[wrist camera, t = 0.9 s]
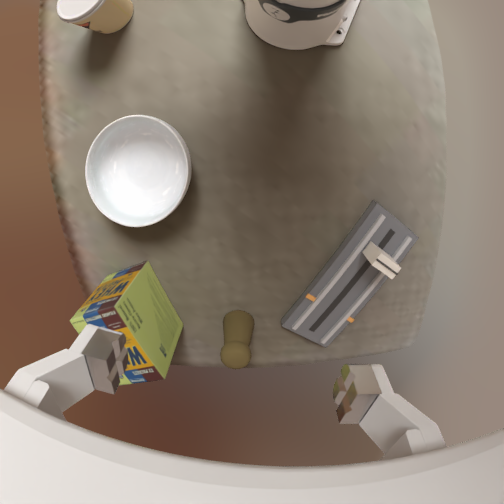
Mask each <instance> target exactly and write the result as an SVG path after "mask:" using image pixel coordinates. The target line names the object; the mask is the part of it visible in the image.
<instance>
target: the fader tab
mask: <svg viewBox="0 0 504 504" xmlns="http://www.w3.org/2000/svg"><path fill="white" fill-rule="evenodd" d="M362 253H363V254H364V255H365V257H366V258H367V259H368V261H369V262H370V263H371V265H372V266H374V267H375V268H377V269H378V270H380V271H381V272H382V273H384V274H385V275H387V276H388V277H389V278H391V279H393V278H394V277H395V276H396V275H397V274H398V272H399V271H400V269H401V267H400V266H399V265H398V264H397V263H396V262H395V261H394V259H393V258H392V257H391V256H390V255H389V254H387V253H386V252H385V251H383V250H382V249H381V248H379V247H378V246H377V245H375V244H374V243H373V242H371V241H370V242H369V244H368V245H367V246H366V248H365V249H364V250H363V252H362Z"/></svg>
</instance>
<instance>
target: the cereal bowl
mask: <svg viewBox="0 0 504 504" xmlns="http://www.w3.org/2000/svg"><path fill="white" fill-rule="evenodd" d="M191 168H192V166H191V158H190V153H189V150H188V148H187V145H186V143H185V141H184V140H183V138H182V137H181V135H180V134H179V133H178V132H177V131H176V130H175V129H174V128H173V127H172V126H171V125H169V124H168V123H166V122H164V121H162V120H160V119H158V118H155V117H152V116H146V115H130V116H126V117H123V118H120V119H118V120H116V121H114V122H112V123H111V124H109V125H108V126H106V127H105V128H104V129H103V130H102V131H101V132H100V133H99V134H98V136H97V137H96V138H95V140H94V142H93V143H92V145H91V147H90V150H89V152H88V155H87V159H86V166H85V176H86V183H87V187H88V191H89V194H90V196H91V198H92V200H93V202H94V204H95V205H96V206H97V208H98V209H99V210H100V211H101V212H102V213H103V214H104V215H105V216H106V217H108V218H109V219H110V220H112V221H114V222H116V223H118V224H121V225H124V226H128V227H144V226H148V225H152V224H155V223H157V222H159V221H161V220H163V219H164V218H166V217H167V216H168V215H170V214H171V213H172V212H173V211H174V210H175V209H176V208H177V207H178V205H179V204H180V203H181V201H182V200H183V198H184V196H185V195H186V192H187V190H188V187H189V184H190V179H191V171H192V170H191Z"/></svg>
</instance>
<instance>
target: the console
mask: <svg viewBox="0 0 504 504" xmlns="http://www.w3.org/2000/svg"><path fill="white" fill-rule="evenodd" d="M418 238H419V237H417V236H416V235H415V234H414V233H413V232H412V231H411V230H409V229H408V228H407V227H406V226H405V225H404V224H402V223H401V222H400V221H399V220H398V219H397V218H395V217H394V216H393V215H392V214H391V213H389V212H388V211H387V210H386V209H384V208H383V207H382V206H381V205H379V204H378V203H377V202H375V201H374V200H373V201H372V203H371V204H370V205H369V207H368V208H367V210H366V211H365V212H364V214H363V215H362V217H361V218H360V219H359V221H358V222H357V223H356V225H355V226H354V228H353V229H352V230H351V232H350V233H349V234H348V236H347V237H346V238H345V240H344V241H343V242H342V244H341V245H340V246H339V248H338V249H337V250H336V252H335V253H334V254H333V256H332V257H331V258H330V260H329V261H328V262H327V263H326V265H325V266H324V267H323V269H322V270H321V271H320V272H319V274H318V275H317V276H316V278H315V279H314V280H313V281H312V283H311V284H310V285H309V286H308V288H307V289H306V290H305V291H304V293H303V294H302V295H301V296H300V298H299V299H298V300H297V301H296V303H295V304H294V305H293V306H292V307H291V309H290V310H289V311H288V312H287V313H286V315H285V316H284V317H283V318H282V319H281V324H282V327H284V328H286V329H288V330H291V331H293V332H295V333H297V334H299V335H301V336H303V337H305V338H307V339H309V340H311V341H313V342H315V343H317V344H319V345H322V346H324V347H327V346H328V345H329V344H330V343H331V342H332V341H333V340H334V339H335V338H336V337H337V336H338V335H339V334H340V333H341V332H342V330H343V329H344V328H345V327H346V326H347V325H348V324H349V323H350V322H349V321H348V320H347V319H348V318H349V317H351V318H354V317H355V316H356V315H357V314H358V313H359V312H360V311H361V309H362V308H363V307H364V306H365V305H366V304H367V302H368V301H369V300H370V299H371V298H372V297H373V295H374V294H375V293H376V292H377V291H378V289H379V288H380V287H381V286H382V285H383V283H384V282H385V281H386V280H387V279H388V276H387V275H385V274H384V273H382V272H381V271H380V270H378V269H377V268H375V267H374V266H372V265H371V263H370V262H369V261H368V259H367V258H366V257H365V255H364V254H363V253H362V252H363V250H364V249H365V248H366V246H367V245H368V244H369V242H370V241H371V242H373V243H374V244H375V245H377V246H378V247H379V248H381V249H382V250H383V251H385V252H386V253H387V254H389V255H390V256H391V257H392V258H393V259H394V261H395V262H396V263H397V264H398V265H399V263H400V262H401V261H402V260H403V258H404V257H405V256H406V254H407V253H408V252H409V250H410V249H411V248H412V246H413V245H414V244H415V242H416V241H417V240H418ZM308 293H309V294H310V295H312V296H314V297H316V299H315V301H314V302H313V301H311V300H309V299H308V298H306V297H305V296H306V295H307V294H308Z"/></svg>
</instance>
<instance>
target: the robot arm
mask: <svg viewBox="0 0 504 504" xmlns="http://www.w3.org/2000/svg"><path fill="white" fill-rule="evenodd" d="M243 1H244V3H245V15H246V19H247V22H248V24H249V26H250V28H251V29H252V30H253V32H254V33H255V34H256V35H257V36H259V37H260V38H261V39H262V40H264V41H266V42H267V43H269V44H271V45H274V46H277V47H280V48H284V49H291V50H301V49H308V48H312V47H315V46H318V45H332V46H337V45H341V44H342V43H343V41H344V39H345V37H346V34H347V32H348V29H349V27H350V24H351V22H352V19H353V17H354V15H355V12H356V10H357V7H358V5H359V2H360V0H243ZM337 31H339V32H340V33H341V34H337ZM125 343H126V336H125V334H124V333H121V332H117V331H113V330H110V329H106V328H103V327H98V326H95V325H92V324H88V325H86V326H85V328H84V329H83V330H82V332H81V333H80V335H79V336H78V337H77V339H76V340H75V342H74V343H73V344H72V346H71V347H70V349H69V350H67V349H64V350H62V351H60V352H57V353H55V354H53V355H50V356H48V357H46V358H44V359H41V360H39V361H37V362H35V363H32V364H30V365H28V366H25V367H23V368H21V369H19V370H18V371H17V372H16V374H15V375H14V377H13V378H12V379H11V381H10V382H9V383H8V385H7V386H6V388H5V389H4V391H3V390H2V389H0V504H504V428H503V429H500V430H497V431H495V432H492V433H489V434H487V435H484V436H481V437H478V438H475V439H472V440H469V441H466V442H462V443H459V444H456V445H452V446H449V447H446V444H445V442H444V440H443V437H442V435H441V433H440V430H439V428H438V426H437V424H436V423H434V422H433V421H432V420H431V419H429V418H428V417H427V416H425V415H424V414H423V413H421V412H420V411H419V410H418V409H416V408H415V407H414V406H413V405H411V404H410V403H409V402H408V401H406V400H405V399H404V398H402V397H401V396H400V395H399V394H394V392H393V389H392V387H391V385H390V382H389V380H388V377H387V375H386V373H385V371H384V368H383V366H382V365H381V364H369V365H368V364H345V365H344V366H343V367H342V369H341V374H342V376H340V377H339V378H337V380H336V382H335V384H334V388H333V398H334V402H335V403H336V404H338V406H339V407H338V408H337V410H336V412H337V416H338V421H339V423H340V424H357V423H358V424H359V425H360V426H361V428H362V429H363V430H364V431H365V432H366V433H367V434H368V436H369V437H370V438H371V439H372V440H373V441H374V442H375V444H376V445H377V446H378V447H379V448H380V449H381V450H382V451H383V452H384V453H385V455H384V456H383V457H382V458H381V459H380V460H379V461H374V462H366V463H356V464H345V465H331V466H300V467H299V466H297V467H296V466H293V467H292V466H263V465H247V464H237V463H227V462H219V461H210V460H204V459H198V458H192V457H186V456H181V455H176V454H171V453H166V452H161V451H157V450H153V449H149V448H145V447H141V446H137V445H133V444H130V443H127V442H123V441H120V440H116V439H113V438H110V437H107V436H104V435H101V434H98V433H95V432H93V431H90V430H87V429H84V428H82V427H79V426H77V425H74V424H71V423H69V422H67V421H66V419H65V418H64V416H63V414H62V412H63V411H65V410H66V409H68V408H69V407H71V406H72V405H73V404H75V403H76V402H78V401H79V400H81V399H82V398H84V397H85V396H86V395H88V394H89V393H90V392H92V391H94V389H97V390H101V391H104V392H108V393H111V394H115V392H116V390H117V387H118V386H119V383H120V378H119V376H120V375H122V374H124V373H125V370H126V368H127V364H128V350H127V349H126V348H125V346H124V345H125Z"/></svg>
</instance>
